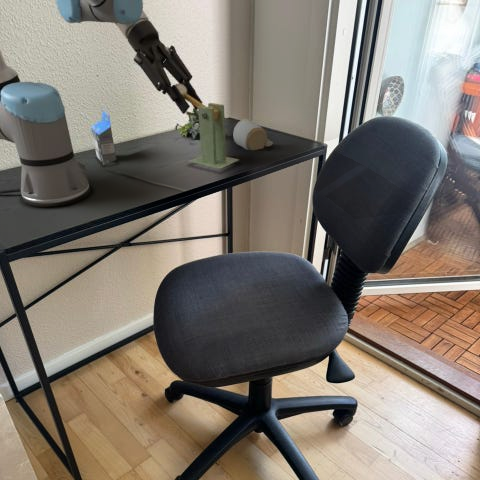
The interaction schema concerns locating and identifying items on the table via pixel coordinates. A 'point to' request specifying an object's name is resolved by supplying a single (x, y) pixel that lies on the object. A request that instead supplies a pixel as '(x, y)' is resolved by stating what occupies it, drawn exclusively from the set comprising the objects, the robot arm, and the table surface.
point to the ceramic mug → (250, 135)
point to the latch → (184, 93)
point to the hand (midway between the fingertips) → (192, 108)
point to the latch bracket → (212, 138)
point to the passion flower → (187, 127)
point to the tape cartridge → (104, 140)
